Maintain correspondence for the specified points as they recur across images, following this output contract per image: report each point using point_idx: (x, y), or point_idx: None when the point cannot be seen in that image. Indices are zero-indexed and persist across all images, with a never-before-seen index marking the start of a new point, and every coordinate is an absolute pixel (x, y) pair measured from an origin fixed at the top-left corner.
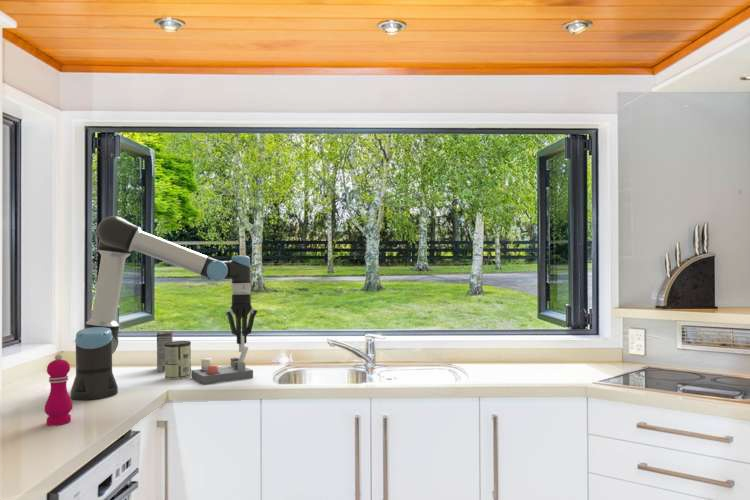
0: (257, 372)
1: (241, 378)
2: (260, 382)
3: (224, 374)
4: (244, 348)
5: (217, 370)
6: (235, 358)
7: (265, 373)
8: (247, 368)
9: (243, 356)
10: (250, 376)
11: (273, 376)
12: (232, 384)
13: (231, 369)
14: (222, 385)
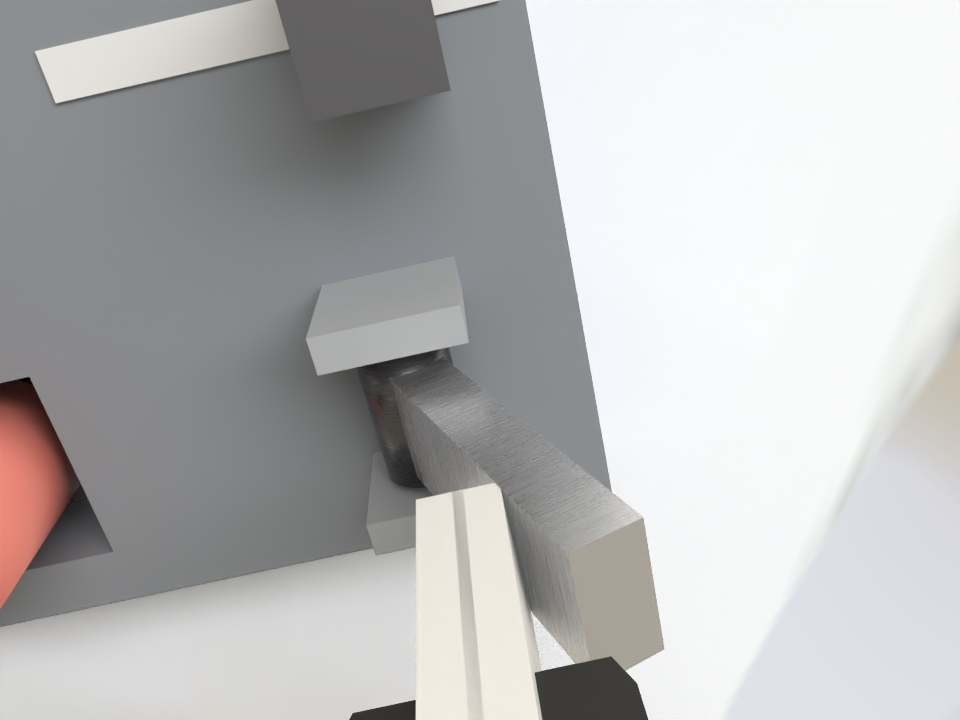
0: (766, 48)
1: None
2: None
3: (167, 583)
4: (558, 613)
5: (34, 554)
6: (374, 40)
7: (847, 202)
8: (563, 327)
9: None
10: None
11: (858, 463)
12: (287, 700)
13: (283, 301)
14: (170, 709)
